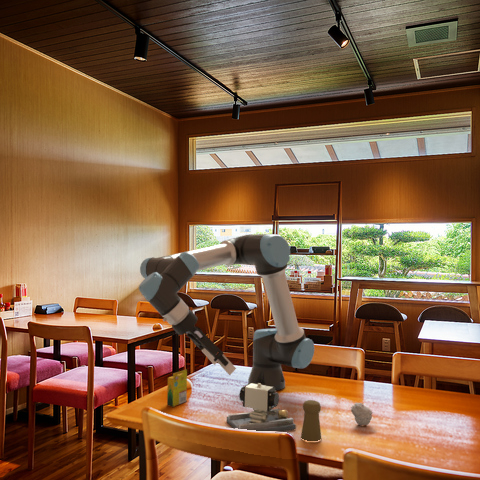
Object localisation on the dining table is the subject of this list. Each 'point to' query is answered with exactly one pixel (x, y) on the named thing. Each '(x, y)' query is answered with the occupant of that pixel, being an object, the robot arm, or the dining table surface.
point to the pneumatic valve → (259, 400)
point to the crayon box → (177, 388)
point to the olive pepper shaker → (311, 421)
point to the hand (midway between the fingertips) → (224, 366)
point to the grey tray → (274, 422)
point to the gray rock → (361, 414)
